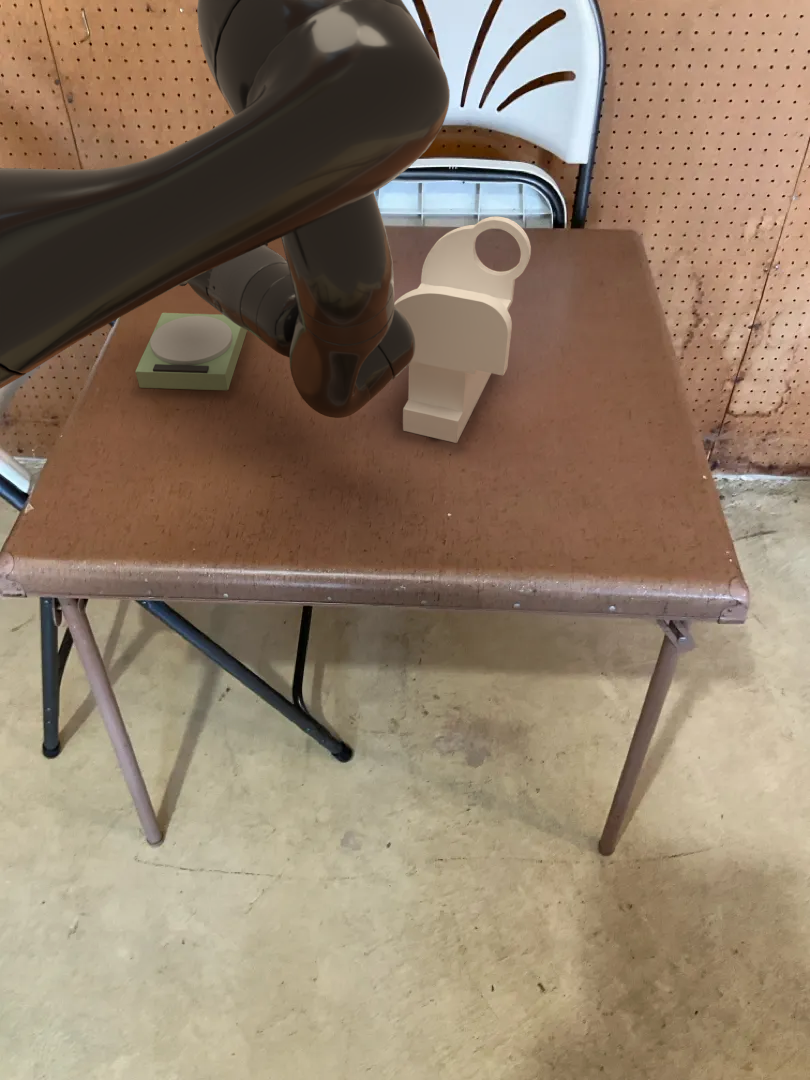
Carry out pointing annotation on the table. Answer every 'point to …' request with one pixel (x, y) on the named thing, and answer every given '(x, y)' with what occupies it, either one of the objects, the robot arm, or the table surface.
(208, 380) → the scale
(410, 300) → the tape dispenser
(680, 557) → the table surface
